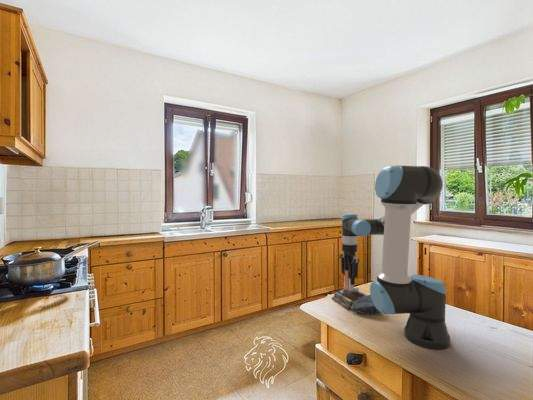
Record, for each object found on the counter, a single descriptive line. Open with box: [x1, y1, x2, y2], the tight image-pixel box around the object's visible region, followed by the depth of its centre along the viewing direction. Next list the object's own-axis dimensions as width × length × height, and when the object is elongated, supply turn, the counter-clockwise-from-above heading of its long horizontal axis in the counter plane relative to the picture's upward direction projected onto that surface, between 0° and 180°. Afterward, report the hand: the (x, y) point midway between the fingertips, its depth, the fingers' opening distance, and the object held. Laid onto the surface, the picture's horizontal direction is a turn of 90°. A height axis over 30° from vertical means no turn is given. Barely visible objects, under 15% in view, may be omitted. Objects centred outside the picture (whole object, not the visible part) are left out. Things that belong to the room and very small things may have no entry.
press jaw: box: [339, 269, 360, 299], centre depth 146 cm, size 4×9×14 cm, turn 107°
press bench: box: [331, 289, 367, 311], centre depth 142 cm, size 14×16×4 cm
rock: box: [351, 294, 379, 315], centre depth 131 cm, size 16×8×10 cm
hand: (349, 289), depth 145 cm, fingers closed on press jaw, 3 cm apart
